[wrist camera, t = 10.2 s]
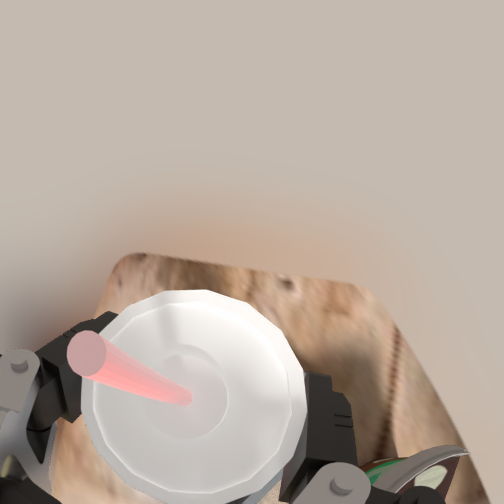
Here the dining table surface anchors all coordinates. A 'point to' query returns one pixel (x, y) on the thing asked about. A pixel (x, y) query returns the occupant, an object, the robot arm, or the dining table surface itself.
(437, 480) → the food container
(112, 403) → the beverage cup
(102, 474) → the dining table surface
